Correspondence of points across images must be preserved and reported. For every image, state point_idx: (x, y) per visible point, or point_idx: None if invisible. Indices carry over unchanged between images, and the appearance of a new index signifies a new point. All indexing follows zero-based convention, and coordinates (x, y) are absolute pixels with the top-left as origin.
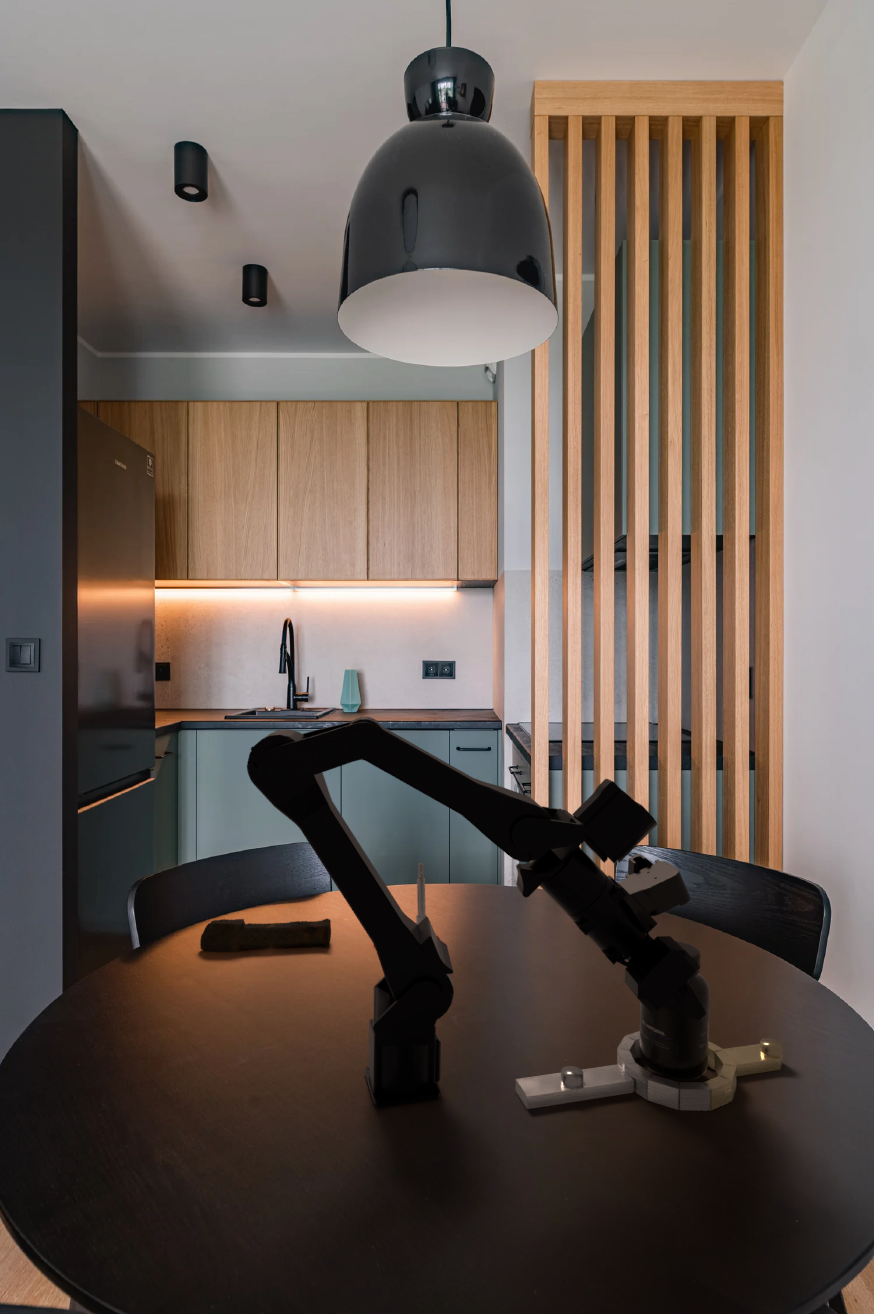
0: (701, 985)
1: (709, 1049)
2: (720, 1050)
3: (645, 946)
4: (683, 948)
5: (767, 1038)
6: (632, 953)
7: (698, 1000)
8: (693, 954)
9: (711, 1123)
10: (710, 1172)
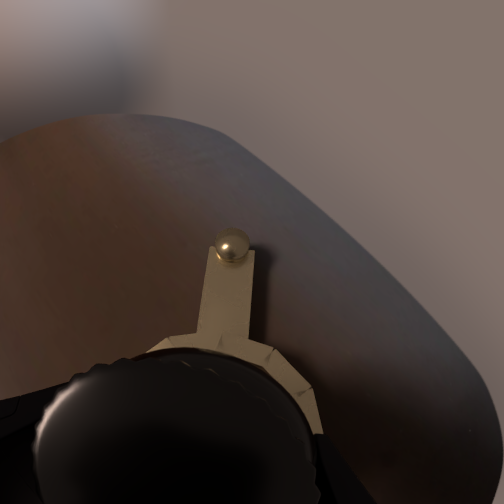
0: (296, 426)
1: None
2: (220, 338)
3: (7, 457)
4: (167, 458)
5: (218, 236)
6: (19, 494)
7: (351, 472)
8: (282, 463)
9: (337, 449)
10: (407, 488)
